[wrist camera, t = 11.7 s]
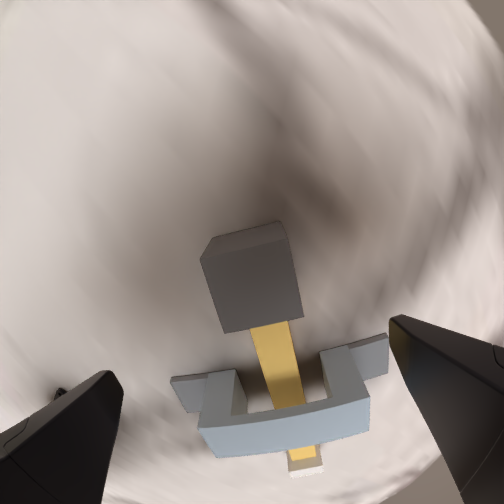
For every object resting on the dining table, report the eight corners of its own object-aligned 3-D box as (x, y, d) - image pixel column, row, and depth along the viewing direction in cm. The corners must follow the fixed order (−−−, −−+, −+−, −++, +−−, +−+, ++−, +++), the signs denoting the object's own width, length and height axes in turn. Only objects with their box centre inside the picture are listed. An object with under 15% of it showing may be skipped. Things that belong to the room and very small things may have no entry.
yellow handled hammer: (324, 447, 22) (330, 479, 19) (283, 455, 23) (286, 487, 19) (280, 221, 16) (287, 238, 13) (212, 237, 17) (199, 259, 13)
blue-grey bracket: (384, 391, 20) (406, 437, 15) (199, 427, 22) (190, 476, 16) (385, 332, 19) (417, 380, 13) (171, 377, 20) (153, 429, 15)
